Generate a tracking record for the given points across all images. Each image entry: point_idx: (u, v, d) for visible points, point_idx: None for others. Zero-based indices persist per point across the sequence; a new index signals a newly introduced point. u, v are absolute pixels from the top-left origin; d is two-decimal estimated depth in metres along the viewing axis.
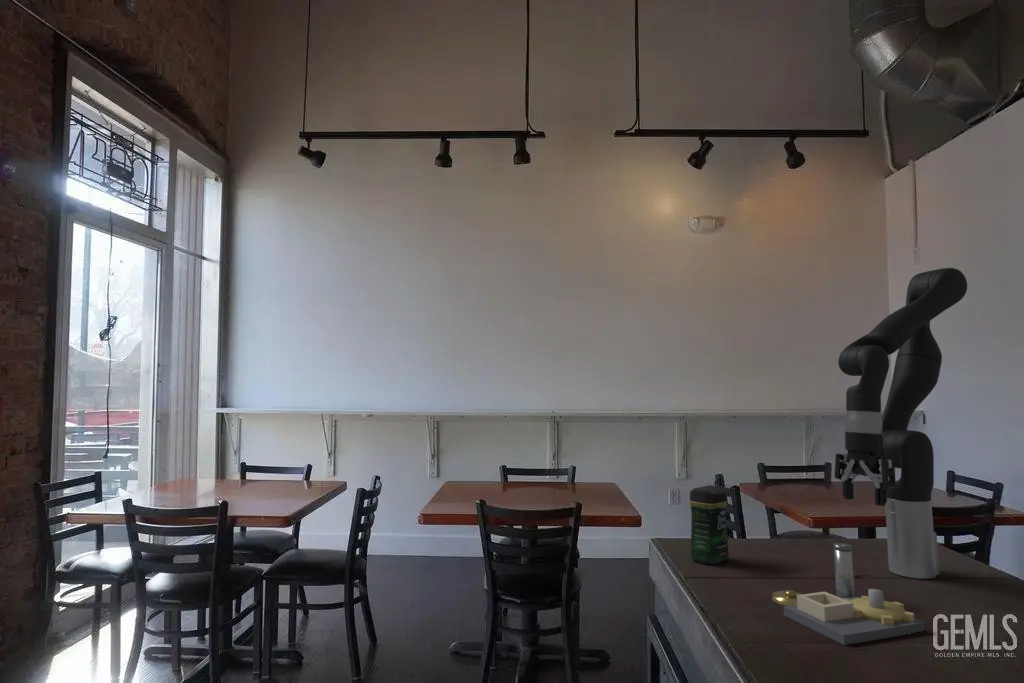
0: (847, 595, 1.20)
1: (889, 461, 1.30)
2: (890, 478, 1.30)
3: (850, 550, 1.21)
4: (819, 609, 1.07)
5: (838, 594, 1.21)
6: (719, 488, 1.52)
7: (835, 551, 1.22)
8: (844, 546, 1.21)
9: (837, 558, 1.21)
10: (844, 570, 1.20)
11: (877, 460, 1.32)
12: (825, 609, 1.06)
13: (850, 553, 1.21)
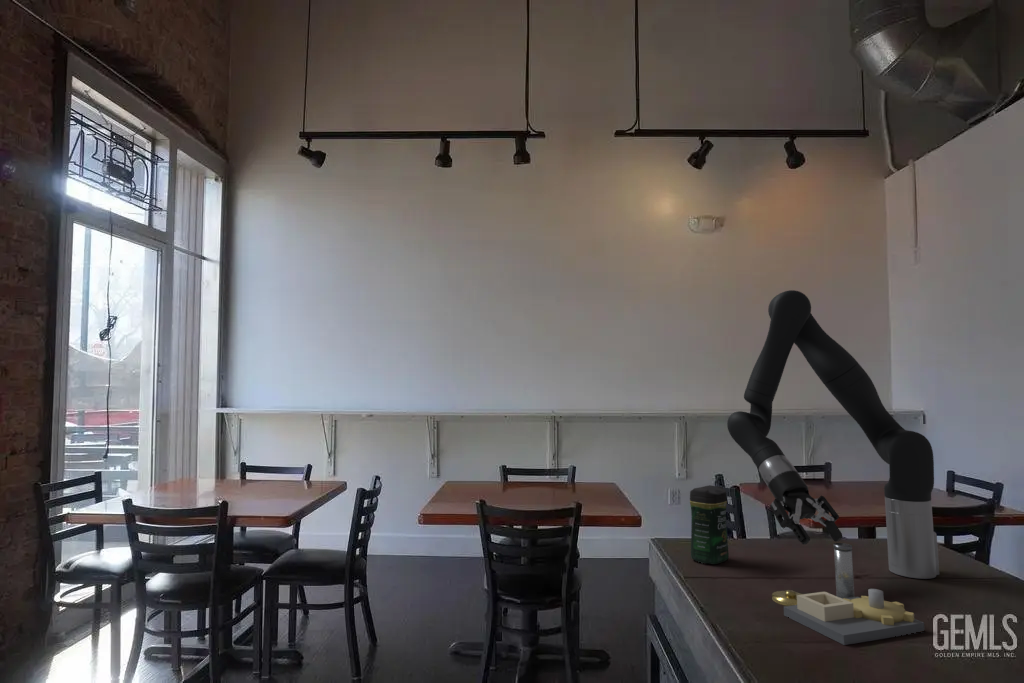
0: (847, 595, 1.20)
1: (772, 503, 1.32)
2: None
3: (850, 550, 1.21)
4: (819, 609, 1.07)
5: (838, 594, 1.21)
6: (719, 488, 1.52)
7: (835, 551, 1.22)
8: (843, 546, 1.21)
9: (837, 558, 1.21)
10: (844, 570, 1.20)
11: None
12: (825, 609, 1.06)
13: (850, 553, 1.21)
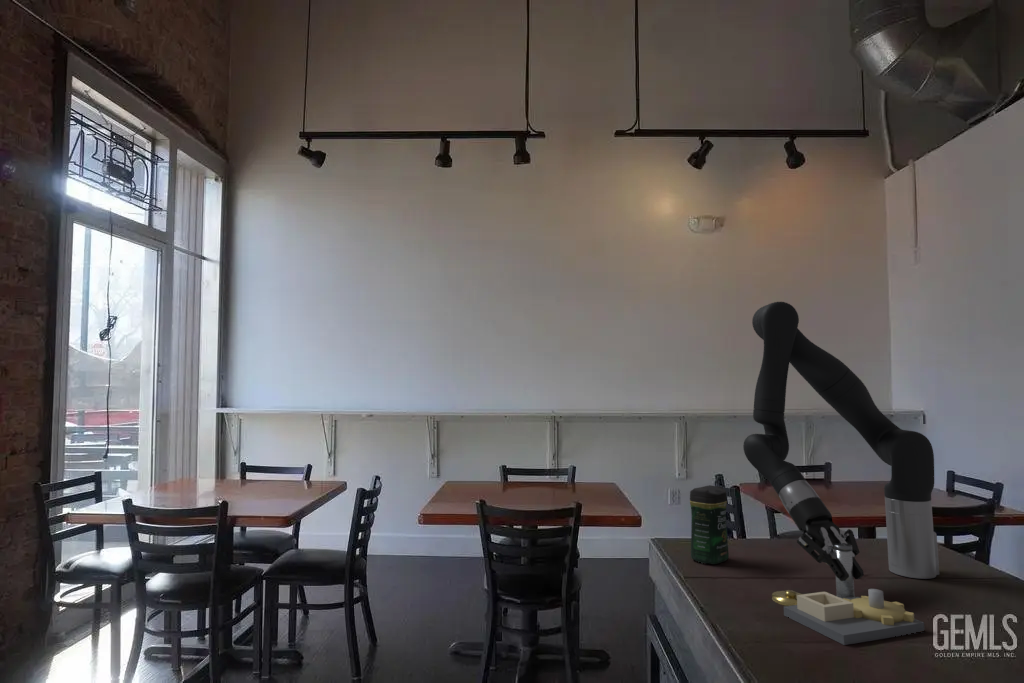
0: (847, 595, 1.20)
1: (800, 540, 1.25)
2: None
3: (850, 550, 1.21)
4: (819, 609, 1.07)
5: (838, 594, 1.21)
6: (719, 488, 1.52)
7: (835, 551, 1.22)
8: (844, 546, 1.21)
9: (837, 558, 1.21)
10: None
11: None
12: (825, 609, 1.06)
13: (850, 553, 1.21)
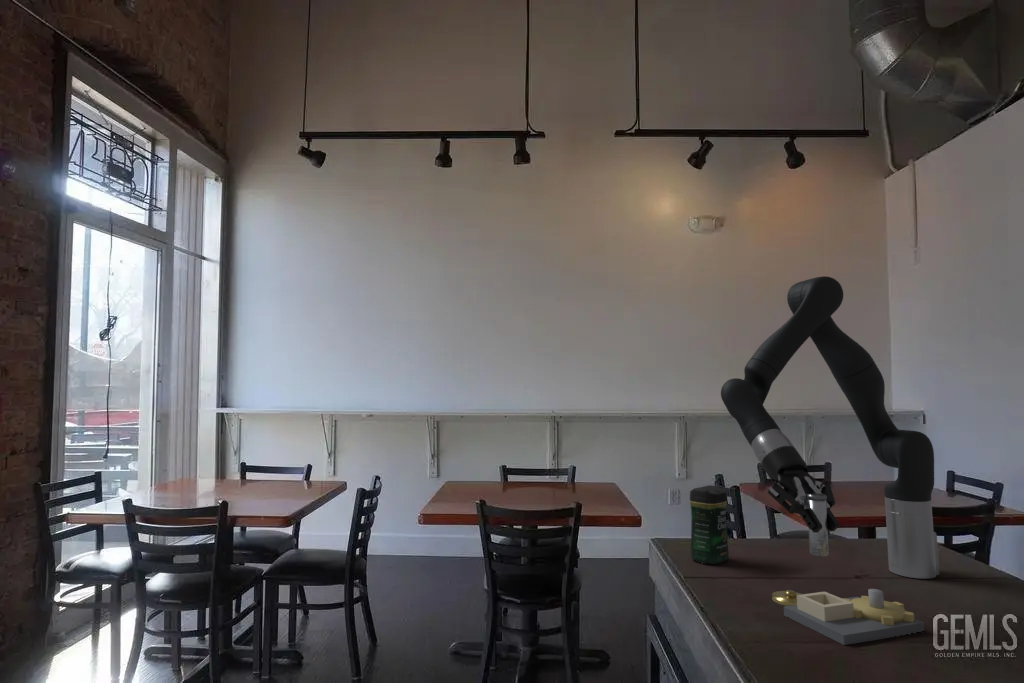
0: (820, 548, 1.10)
1: (771, 489, 1.15)
2: None
3: (824, 499, 1.11)
4: (819, 609, 1.07)
5: (811, 547, 1.11)
6: (719, 488, 1.52)
7: (808, 501, 1.12)
8: (817, 495, 1.11)
9: (810, 508, 1.12)
10: None
11: None
12: (825, 609, 1.06)
13: (824, 503, 1.11)
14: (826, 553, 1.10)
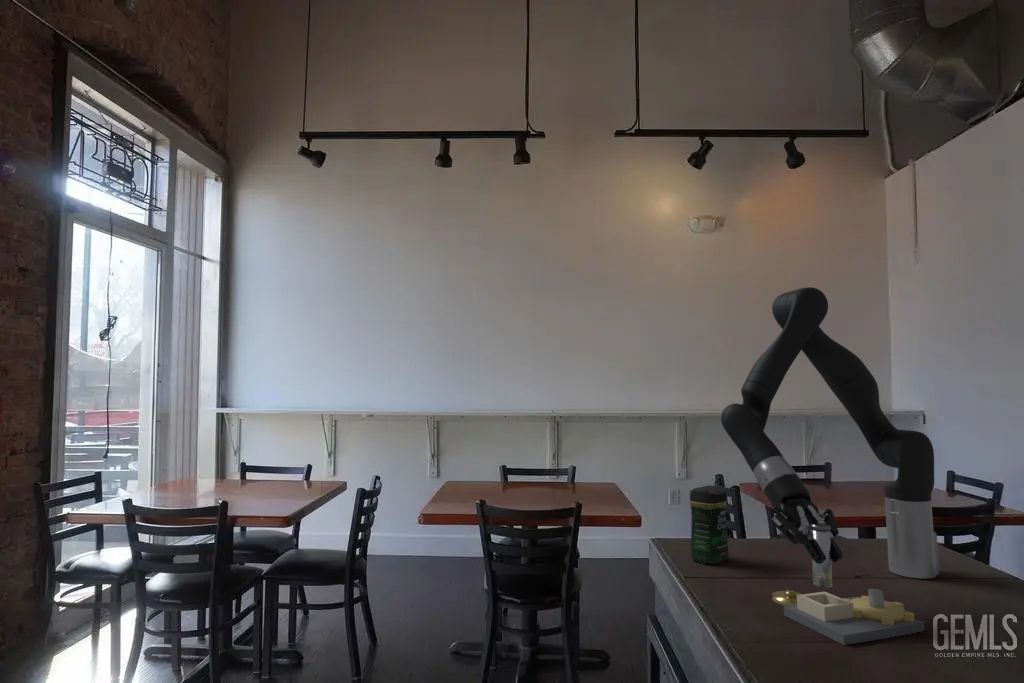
0: (824, 580, 1.09)
1: (774, 519, 1.14)
2: None
3: (828, 530, 1.10)
4: (819, 609, 1.07)
5: (814, 578, 1.10)
6: (719, 488, 1.52)
7: (812, 531, 1.11)
8: (821, 526, 1.10)
9: (814, 539, 1.11)
10: None
11: None
12: (825, 609, 1.06)
13: (828, 533, 1.10)
14: (830, 584, 1.09)
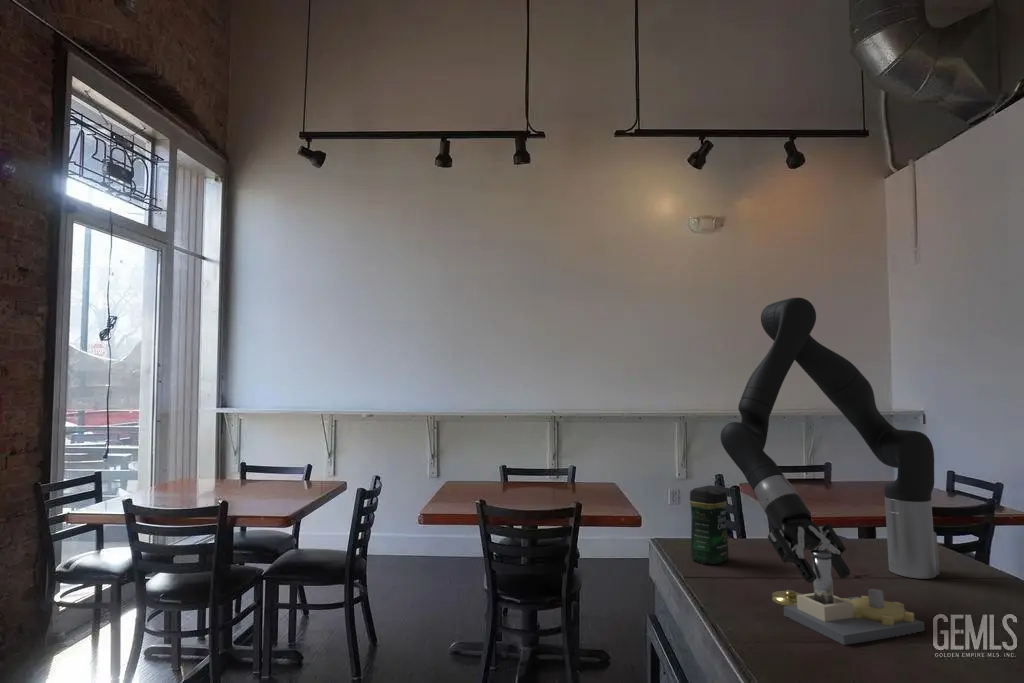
0: None
1: (770, 534, 1.14)
2: None
3: (829, 558, 1.09)
4: (819, 609, 1.07)
5: None
6: (719, 488, 1.52)
7: (813, 559, 1.11)
8: (822, 554, 1.09)
9: (815, 567, 1.10)
10: (823, 580, 1.09)
11: None
12: (825, 609, 1.06)
13: (829, 561, 1.09)
14: None
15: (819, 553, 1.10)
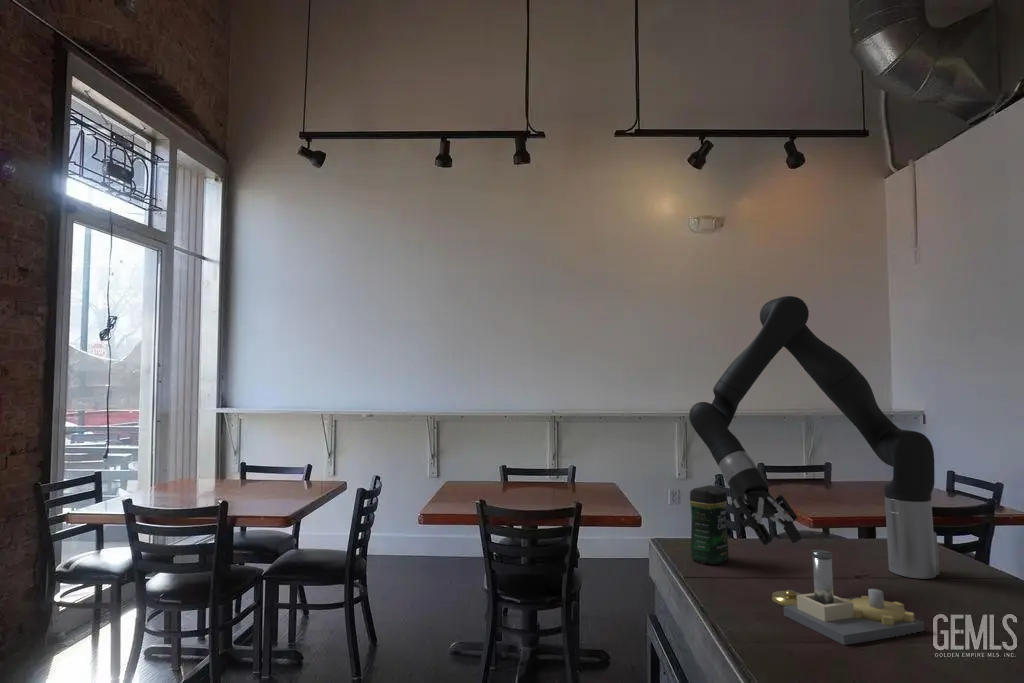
0: None
1: (734, 501, 1.26)
2: None
3: (830, 558, 1.10)
4: (819, 609, 1.07)
5: None
6: (719, 488, 1.52)
7: (813, 559, 1.11)
8: (823, 554, 1.10)
9: (815, 567, 1.10)
10: (823, 580, 1.09)
11: None
12: (825, 609, 1.06)
13: (830, 561, 1.10)
14: None
15: (820, 553, 1.10)
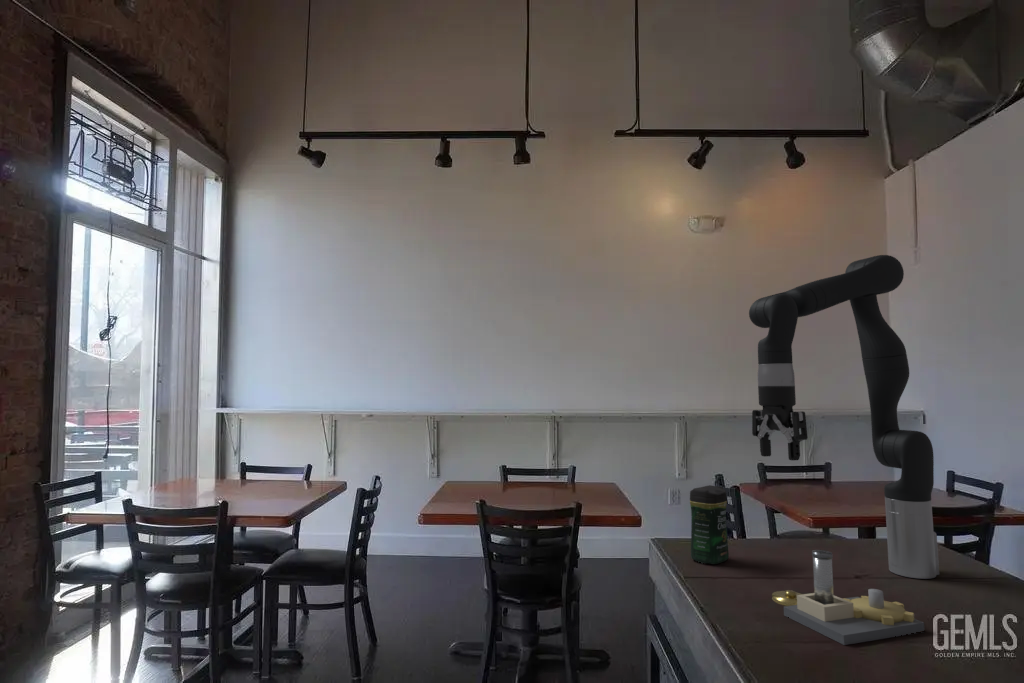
0: None
1: (800, 413, 1.24)
2: (802, 431, 1.25)
3: (830, 558, 1.09)
4: (819, 609, 1.07)
5: None
6: (719, 488, 1.52)
7: (814, 559, 1.11)
8: (823, 554, 1.09)
9: (816, 567, 1.10)
10: (823, 580, 1.09)
11: (789, 413, 1.27)
12: (825, 609, 1.06)
13: (830, 561, 1.10)
14: None
15: (820, 553, 1.10)
